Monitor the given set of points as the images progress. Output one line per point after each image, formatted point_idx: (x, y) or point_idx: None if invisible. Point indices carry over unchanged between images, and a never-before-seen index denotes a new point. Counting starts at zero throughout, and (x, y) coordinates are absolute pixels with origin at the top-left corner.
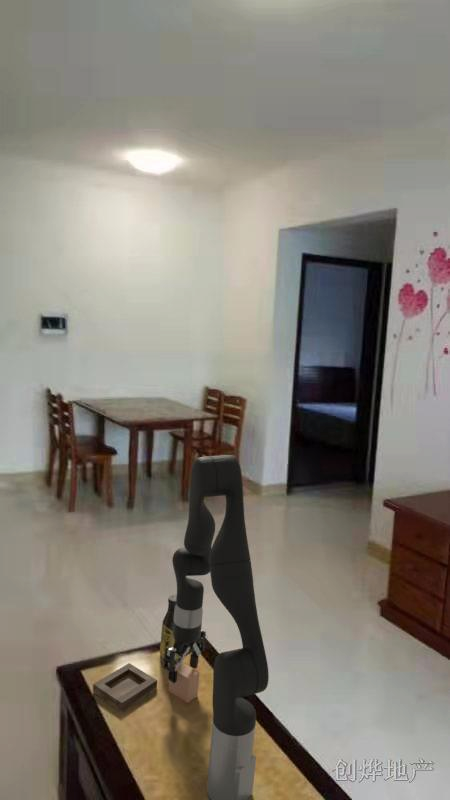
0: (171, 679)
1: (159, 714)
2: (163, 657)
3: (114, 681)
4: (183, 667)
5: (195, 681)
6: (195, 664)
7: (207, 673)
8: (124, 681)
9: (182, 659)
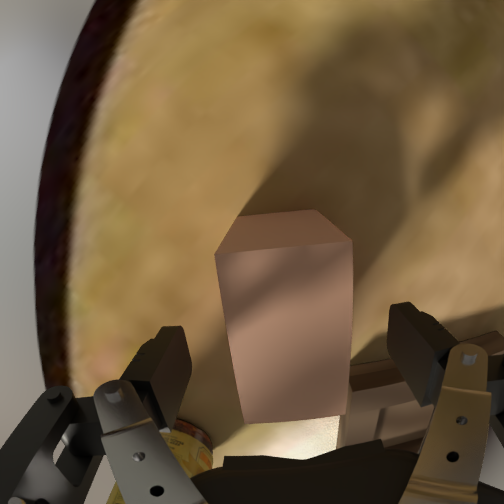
0: (434, 324)
1: (451, 239)
2: (211, 456)
3: (421, 440)
4: (275, 375)
5: (265, 233)
6: (172, 346)
7: (99, 301)
8: (400, 433)
9: (464, 413)
